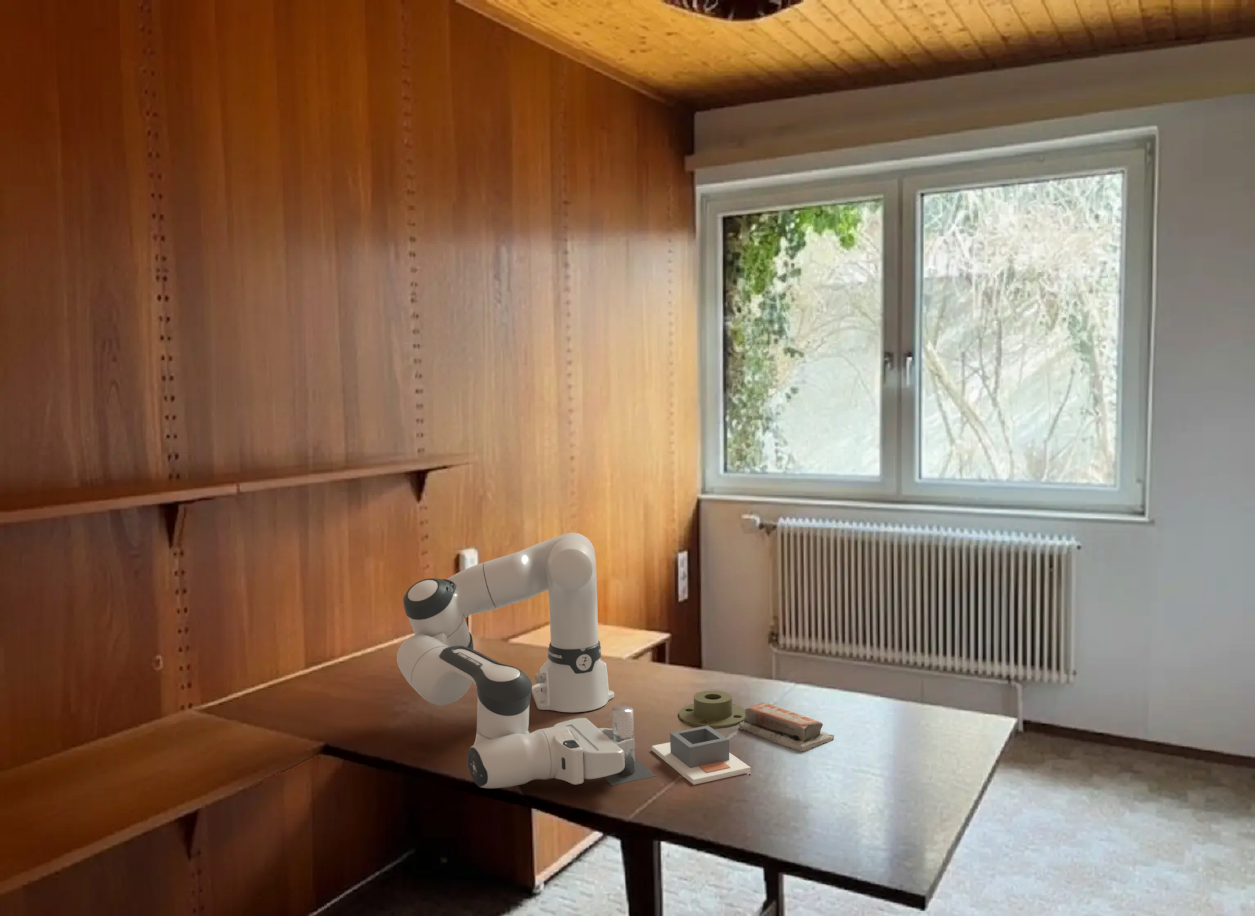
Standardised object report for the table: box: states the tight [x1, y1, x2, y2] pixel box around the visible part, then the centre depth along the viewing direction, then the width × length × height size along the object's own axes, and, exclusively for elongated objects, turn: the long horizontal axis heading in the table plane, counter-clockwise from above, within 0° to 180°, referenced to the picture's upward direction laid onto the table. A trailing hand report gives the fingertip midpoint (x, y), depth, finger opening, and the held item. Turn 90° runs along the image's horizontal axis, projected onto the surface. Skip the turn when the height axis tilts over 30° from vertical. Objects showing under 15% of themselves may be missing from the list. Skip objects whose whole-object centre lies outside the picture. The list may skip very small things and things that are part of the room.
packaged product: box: [739, 702, 835, 752], centre depth 196 cm, size 18×5×10 cm
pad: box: [602, 758, 657, 787], centre depth 178 cm, size 9×9×1 cm
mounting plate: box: [651, 725, 752, 785], centre depth 182 cm, size 18×12×6 cm, turn 24°
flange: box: [678, 689, 746, 729], centre depth 208 cm, size 5×15×15 cm
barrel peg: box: [611, 705, 636, 776], centre depth 177 cm, size 4×4×12 cm
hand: (627, 737), depth 178 cm, fingers closed on barrel peg, 4 cm apart
